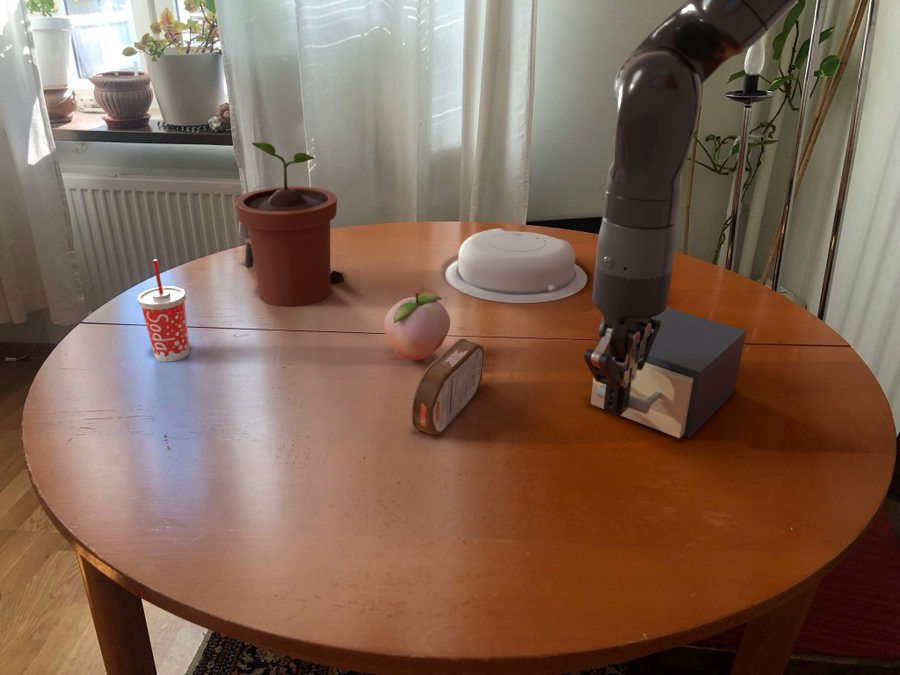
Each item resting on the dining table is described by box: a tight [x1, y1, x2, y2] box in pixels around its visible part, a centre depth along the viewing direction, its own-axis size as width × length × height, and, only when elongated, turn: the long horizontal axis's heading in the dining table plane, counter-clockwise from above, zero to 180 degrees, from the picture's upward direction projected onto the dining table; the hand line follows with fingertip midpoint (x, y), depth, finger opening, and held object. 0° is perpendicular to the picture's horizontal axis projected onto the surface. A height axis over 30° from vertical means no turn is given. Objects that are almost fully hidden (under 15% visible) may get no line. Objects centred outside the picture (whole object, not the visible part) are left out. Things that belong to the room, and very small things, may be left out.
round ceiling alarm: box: [444, 228, 588, 304], centre depth 130 cm, size 25×25×6 cm
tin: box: [411, 338, 486, 436], centre depth 88 cm, size 15×3×8 cm, turn 154°
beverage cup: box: [136, 258, 190, 363], centre depth 101 cm, size 6×6×14 cm
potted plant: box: [234, 142, 345, 307], centre depth 121 cm, size 18×22×25 cm
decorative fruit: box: [383, 292, 451, 361], centre depth 100 cm, size 9×8×10 cm
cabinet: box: [596, 307, 747, 439], centre depth 91 cm, size 14×13×9 cm
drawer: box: [590, 362, 693, 439], centre depth 88 cm, size 17×12×7 cm
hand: (615, 410), depth 81 cm, fingers closed
